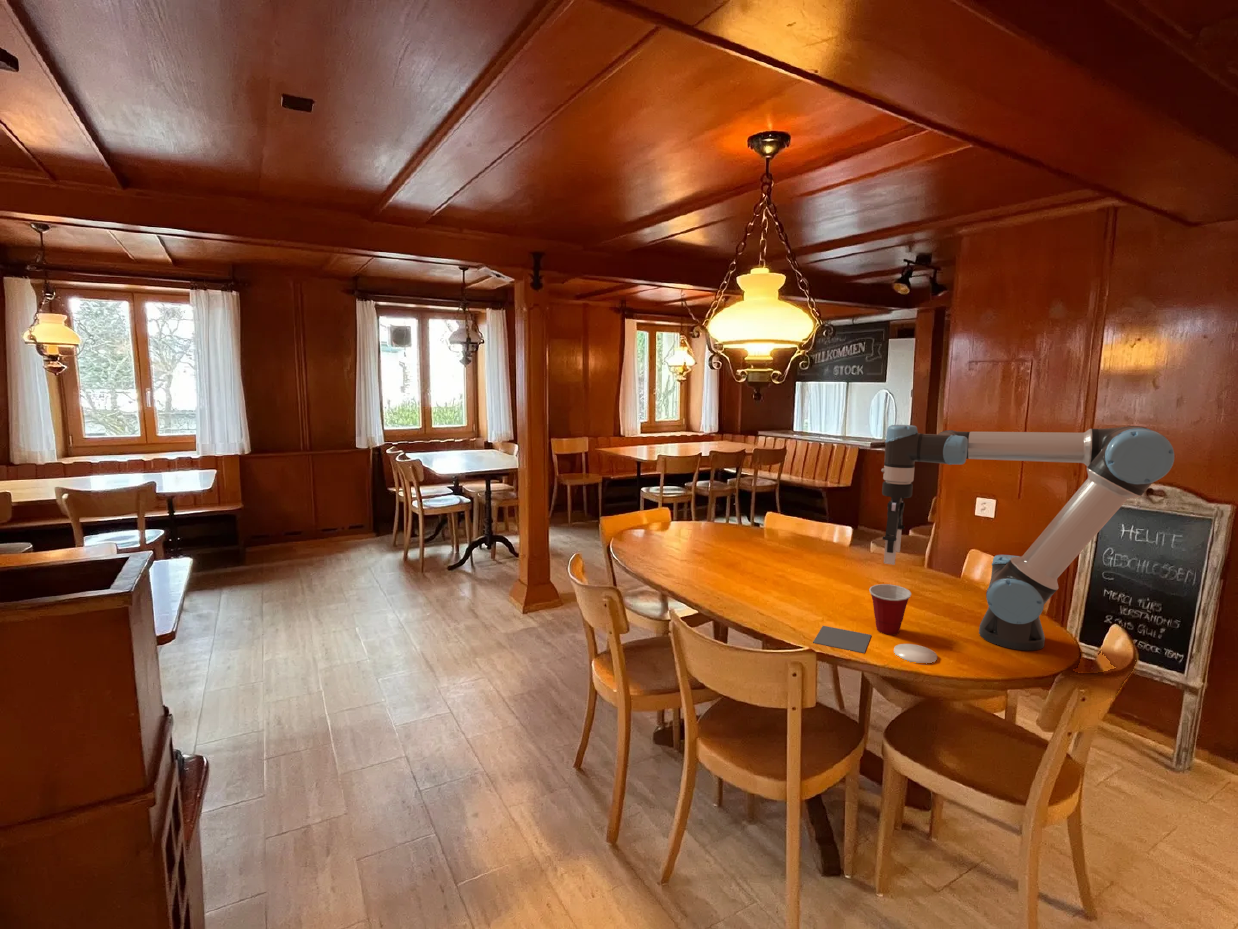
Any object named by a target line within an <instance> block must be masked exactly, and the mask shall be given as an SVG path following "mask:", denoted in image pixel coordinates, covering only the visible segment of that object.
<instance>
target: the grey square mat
mask: <svg viewBox="0 0 1238 929" xmlns="http://www.w3.org/2000/svg"><path fill="white" fill-rule="evenodd" d="M871 638H872V634H868V633H863V632H857V631H853V630H847V629H843V628H837V627H832V626H827V625H822V626H821V628H820V630H819V632H818V633H817V635H816V636H815V638H814V640H813V642H812V644H814V645H815V644H816V645H820V646H821V645H822V646H826V647H831V648H834V649H835V648H836V649H841V650H846V651H849V650H850V651H849V652H854V653H860V654H865V653H866V650H867V648H868V645H869V643H870V640H871Z"/></svg>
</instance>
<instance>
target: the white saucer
mask: <svg viewBox="0 0 1238 929" xmlns="http://www.w3.org/2000/svg"><path fill="white" fill-rule="evenodd" d="M894 653H895V654H894ZM893 654H894V655H895V656H896V655H897V656H899V657H900V658H902V659H904V660H903V661H905V660H907V661H906V662H908V661H909V663H911V662H916V663H926V664H925V665H928V664H927V663H932V662H934V663H935V661H936V660H937V661H938V655H937V653H936V652H935V651H934V650H932V649H930V648H928V647H927V646H924V645H923V646H922V645H918V644H914V643H899V644H897V645H895V646H894V648H893ZM897 656H896V657H897ZM899 657H898V658H899ZM900 658H899V659H900ZM902 659H901V660H902ZM937 661H936V662H937ZM916 663H915V664H916ZM932 664H933V663H932Z"/></svg>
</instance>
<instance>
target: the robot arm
mask: <svg viewBox="0 0 1238 929" xmlns="http://www.w3.org/2000/svg"><path fill="white" fill-rule="evenodd" d="M884 444H885V447H884V462H883V463H884V466H883V468H881V470H880V471H881V472H882V473H883V474H882V475H883V477H882V479H883V480H884V481H883V482H882V485H881V486H882V487H881V494H882V496H885V497H890V500H889V501H888V502H887V506H886V508H887V512H886V516H887V517H886V519H887V520H886V529H885V534H884V536H882V541H883V540H884V543H885V544H884V554H883V564H886V565H893V566H895V565H896V557H897V556H896V555H897V553H900V552H901V544H902V530H905V525H904V522H903V518H904V517H903V514H904V509H905V502H904V499H908V498H911V497H912V496H913V489H914V488H913V486H914V484H913V482H914V478H915V462H919V463H920V462H921V463H931V464H932V463H934V464H941V465H949V466H951V465H960V466H961V465H964V464H965V463H966V461H967V460H992V461H993V460H994V461H995V460H996V461H1018V462H1019V461H1020V462H1022V461H1023V462H1048V463H1078V464H1084V465H1085V466H1086V472H1087V479H1085V481H1084V482H1083V483H1082V485H1080V486H1079V488H1078V489H1077V491H1075V493H1074V494H1073V495H1072V497H1071V498H1069V500H1068V501H1067V502H1066V503H1065V505H1064V506H1063V507H1062V508H1061V509H1060V510H1059V511H1058V513H1057V514H1056V516H1054V518H1053V519H1052V520H1051V521H1050V522H1049V523H1048V525H1047V526H1046V527H1045V529H1044V530H1043V531H1042V532H1041V534H1040V535H1039V536H1038V537H1037V538H1036V539H1035V540H1034V542H1033V543H1031V545H1030V547H1028V549H1027V550H1026V551H1025V552H1024V554H1023V555H1021V556H1020V555H1013V554H1012V555H1010V554H996V555H995V556H994V557H993V559H992V562H991V566H992V567H991V575H990V580H989V585H988V588H987V590H986V593H985V594H986V595H985V596H986V601H987V602H986V603H987V605H988V606H987V610H986V611H985V614H984V616H983V618H982V620H981V622H980V623H979V629H978V634H980V635H979V637H981V638H982V639H983V638H984V640H985V641H987V642H989V643H992V644H993V645H996V644H997V645H996V646H999V645H1000V647H1002V648H1007V649H1011V650H1017V651H1038V650H1042V649H1043V648H1044V647H1045V640H1046V638H1045V632H1044V630H1043V626H1042V623H1041V619H1040V616H1041V615H1042V612H1043V611H1044V607H1045V606H1044V605H1046V603H1047V602H1048V601H1049V600H1050V599H1051V597H1052V596H1053V595H1054V594H1055V593H1056V592H1057V591H1058V589H1059V588H1060V587H1059V584H1058V578H1059V577H1060V576H1061V575H1062V574H1063V572H1065V571H1066V569H1067V568H1068V567H1069V566H1070V565H1071V563H1073V561H1074V560H1075V559H1076V558H1077V557H1078V556H1079V555H1080V553H1081V552H1083V550H1084V549H1085V548H1086V547H1087V545H1088V544H1089V543H1090V542H1091V541H1092V540H1093V538H1094V537H1096V535H1097V534H1098V533H1099V532H1100V531H1101V530H1102V529H1103V528H1104V526H1105V525H1106V524H1107V523H1108V522H1109V521H1110V520H1111V518H1112V517H1113V516H1114V515H1115V514H1116V513H1117V512H1118V511H1119V509H1120V508H1121V507H1123V505H1124V504H1125V503H1126V501H1128V500H1130V499H1135V498H1141V497H1142V496H1143V495H1144V493H1145V492H1147V490H1148V489H1149V488H1150V486H1152V485H1153V483H1155V482H1157V481H1158V480H1160V479H1162V478H1164V477H1165V476H1166V475H1167V474H1168V473H1169V472H1170V471H1171V469H1172V467H1173V465H1174V462H1175V451H1174V450H1175V449H1174V447H1173V445H1172V444H1171V441H1169V439H1168V438H1167V437H1165V435H1163V434H1161V433H1159V432H1158V431H1155V430H1152V429H1149V428H1147V427H1143V426H1139V425H1129V426H1128V425H1127V426H1119V427H1110V428H1109V427H1107V428H1089V429H1087V430H1086V431H1085V432H1084V431H1083V432H1063V431H1062V432H1056V431H1055V432H1054V431H1053V432H1051V431H1049V432H1045V431H1043V432H1041V431H1032V432H1031V431H957V430H943V431H941V432H939V433H935V434H934V433H921V432H919V431H918V427H917V426H916V425H911V424H891V425H889V426H888V427H887V429H886V438H885V441H884Z"/></svg>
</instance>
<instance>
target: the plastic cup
mask: <svg viewBox="0 0 1238 929" xmlns="http://www.w3.org/2000/svg"><path fill="white" fill-rule="evenodd" d="M868 590H869V593H870V595H871V600H872V605H873V614H874V618H875V619H874V620H875V627H876V630H877V632H879V633H881V632H882V633H881V634H883V633H884V635H888V634H890V635H889V636H892V635H893V634H896V635H898V634H899V633H900V630H901V626H902V622H903V620H904V616H905V611H906V608H907V605H908V603H909V602H908V601H909V599H910V598H911V596H912V592H911V591H910V590H909V589H908V588H905V587H903V586H900V585H894V584H890V583H889V584H888V583H882V584H875V585H872V586H870V587H869V589H868ZM898 632H899V633H898ZM897 633H898V634H897ZM893 636H894V635H893Z"/></svg>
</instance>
